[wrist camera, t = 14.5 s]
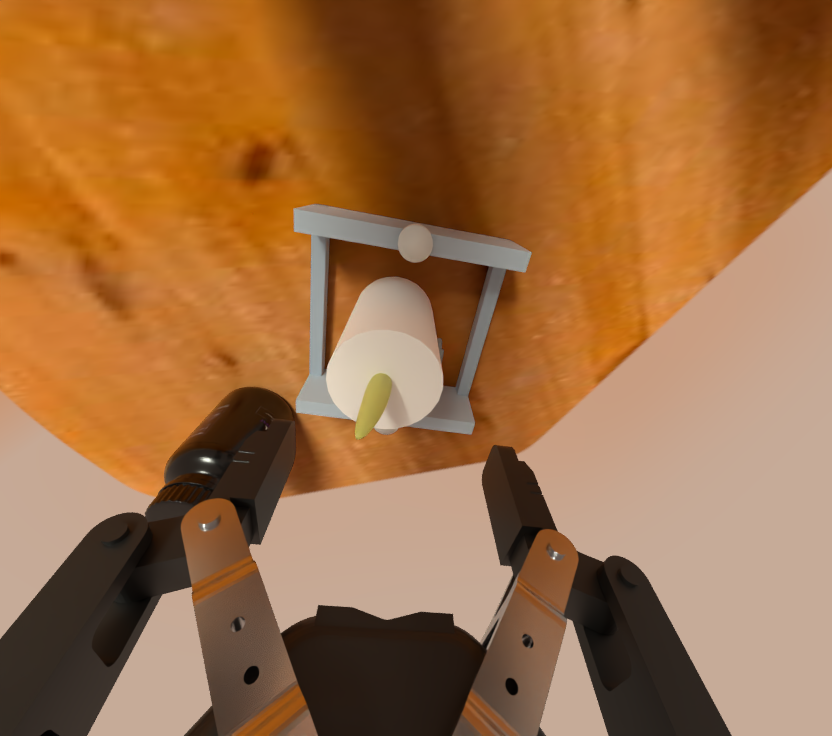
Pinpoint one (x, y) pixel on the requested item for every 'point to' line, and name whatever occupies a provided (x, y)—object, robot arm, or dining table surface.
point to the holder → (413, 247)
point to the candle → (387, 358)
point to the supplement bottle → (214, 449)
